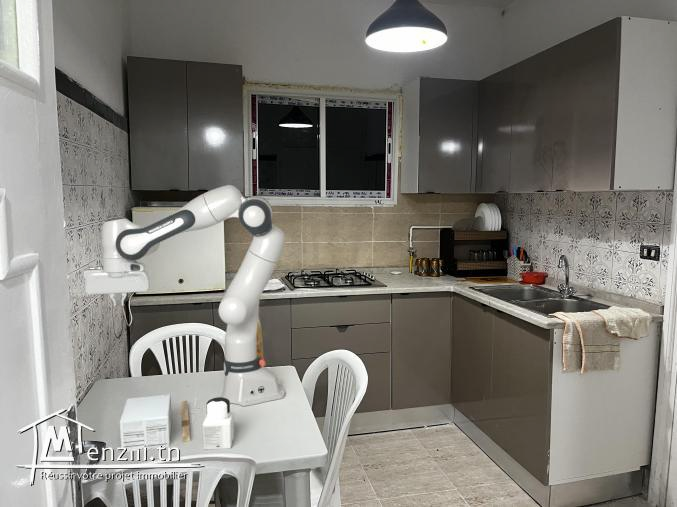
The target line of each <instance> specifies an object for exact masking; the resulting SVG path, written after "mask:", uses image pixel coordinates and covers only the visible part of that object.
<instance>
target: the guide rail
mask: <svg viewBox="0 0 677 507" xmlns="http://www.w3.org/2000/svg"><path fill="white" fill-rule="evenodd" d="M188 408H189V407H188V400H181V401H180V415H181V416H180V417H181V433H182V434H181V435H182V442H183V443H184V441H185V442H190V441H191V439H190V438H191V437H190V436H191V434H190V421H189V420H190V419H189V410H188Z"/></svg>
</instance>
